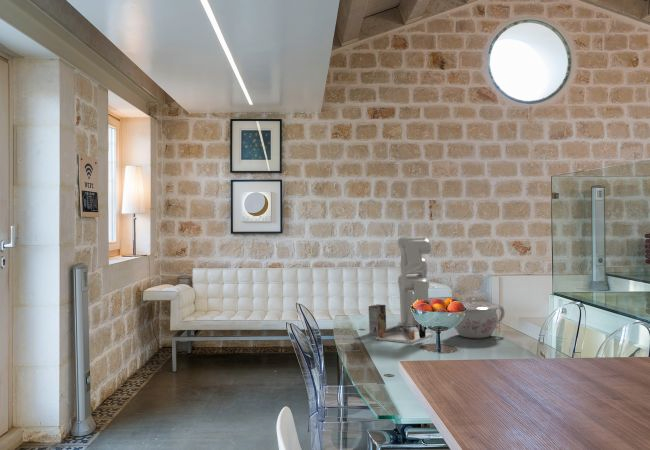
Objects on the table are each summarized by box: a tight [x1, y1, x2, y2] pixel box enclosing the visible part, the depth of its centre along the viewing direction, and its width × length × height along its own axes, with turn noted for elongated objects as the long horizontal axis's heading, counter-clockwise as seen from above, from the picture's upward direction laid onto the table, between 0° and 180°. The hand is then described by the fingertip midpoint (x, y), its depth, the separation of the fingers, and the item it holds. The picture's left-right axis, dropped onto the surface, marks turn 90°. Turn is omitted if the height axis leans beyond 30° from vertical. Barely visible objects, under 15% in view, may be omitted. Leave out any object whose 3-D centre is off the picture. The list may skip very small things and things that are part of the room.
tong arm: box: [404, 326, 415, 339], centre depth 300 cm, size 19×3×4 cm, turn 2°
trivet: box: [376, 331, 434, 344], centre depth 302 cm, size 24×22×1 cm
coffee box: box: [368, 304, 387, 336], centre depth 317 cm, size 9×6×16 cm
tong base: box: [378, 322, 407, 338], centre depth 305 cm, size 22×5×5 cm, turn 142°
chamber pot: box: [453, 298, 506, 340], centre depth 299 cm, size 28×28×21 cm
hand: (422, 337), depth 288 cm, fingers closed
